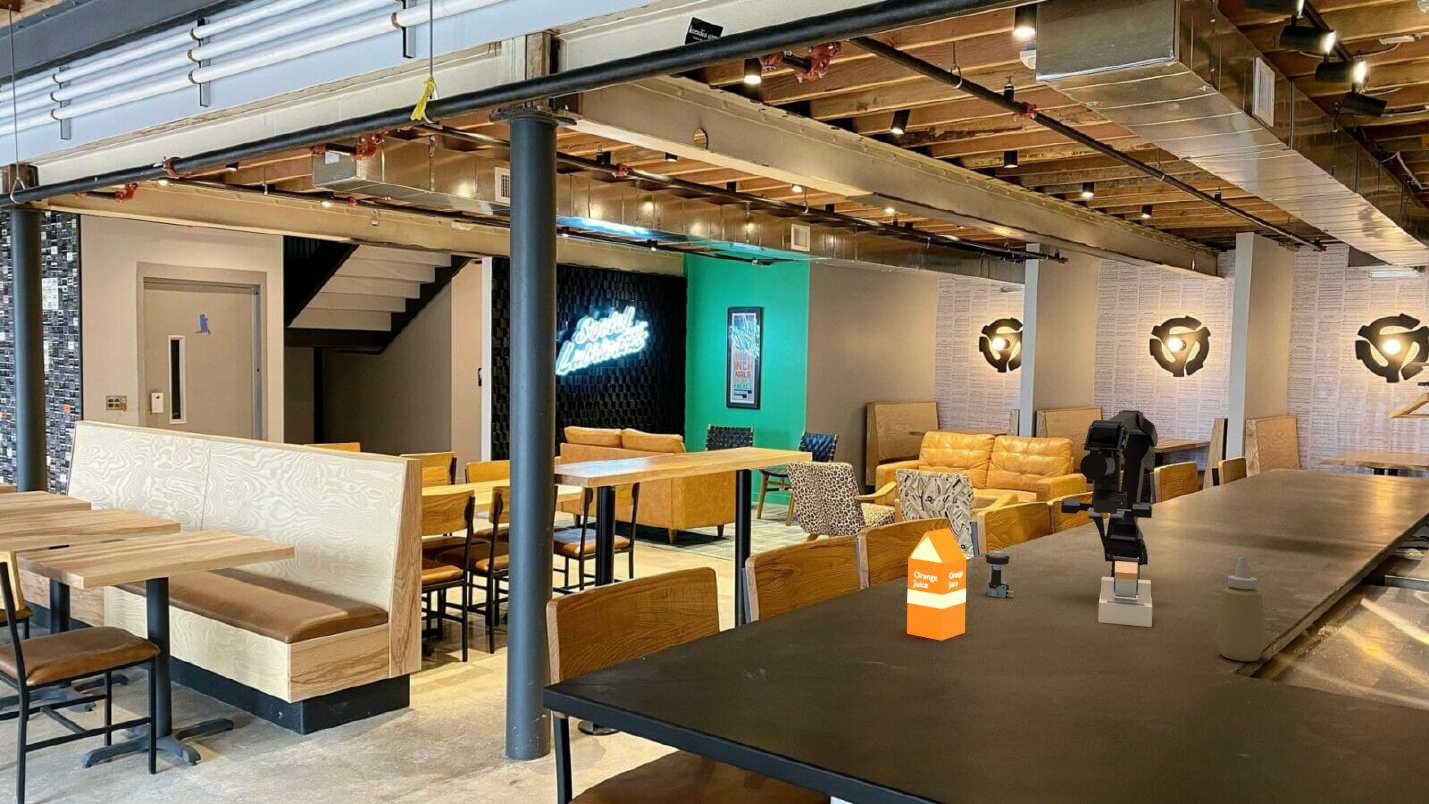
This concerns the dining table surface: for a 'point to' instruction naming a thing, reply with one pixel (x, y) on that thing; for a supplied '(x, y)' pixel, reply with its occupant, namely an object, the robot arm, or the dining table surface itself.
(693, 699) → the dining table surface
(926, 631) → the orange juice
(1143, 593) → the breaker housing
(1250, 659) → the squeeze bottle
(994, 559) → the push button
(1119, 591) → the lever
